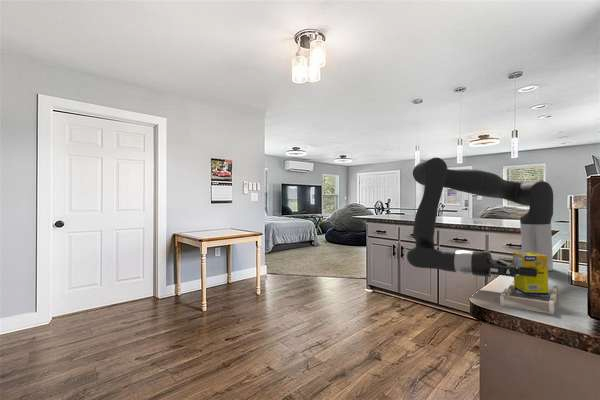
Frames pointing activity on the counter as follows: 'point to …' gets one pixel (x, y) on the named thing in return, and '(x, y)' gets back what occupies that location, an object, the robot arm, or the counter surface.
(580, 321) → the counter surface
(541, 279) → the supplement box
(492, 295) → the counter surface
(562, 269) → the counter surface
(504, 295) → the track dock
